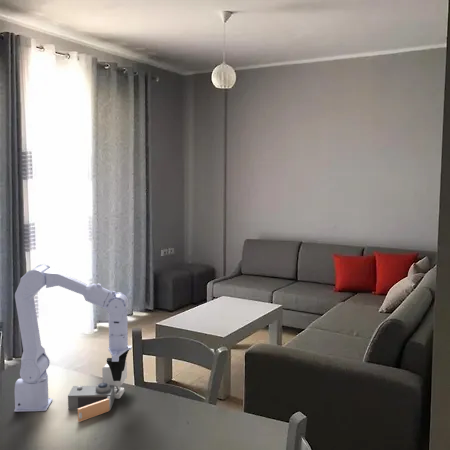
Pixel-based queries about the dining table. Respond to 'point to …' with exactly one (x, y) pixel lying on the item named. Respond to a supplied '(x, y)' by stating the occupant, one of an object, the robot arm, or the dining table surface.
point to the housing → (89, 395)
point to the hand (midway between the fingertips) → (118, 375)
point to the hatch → (94, 409)
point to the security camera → (109, 379)
